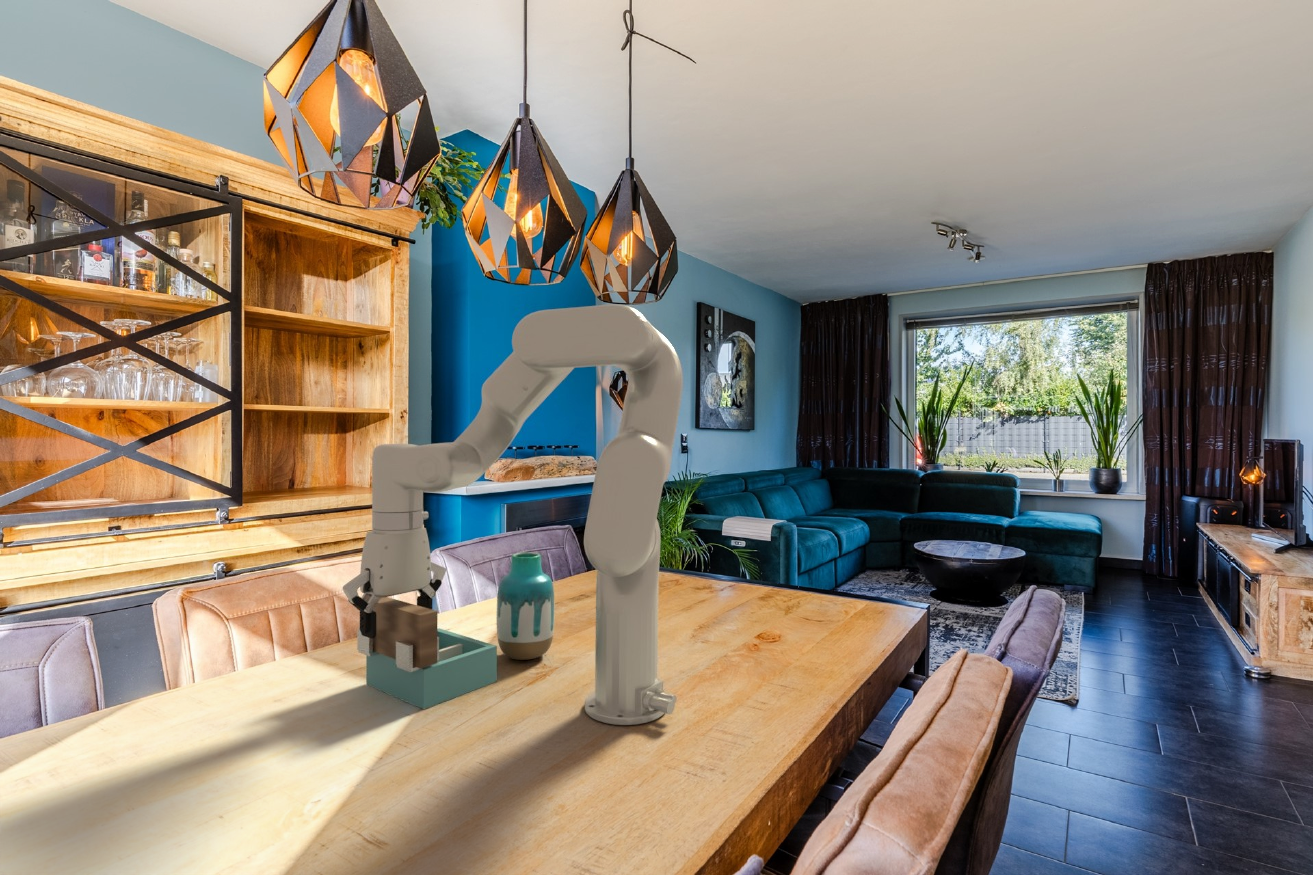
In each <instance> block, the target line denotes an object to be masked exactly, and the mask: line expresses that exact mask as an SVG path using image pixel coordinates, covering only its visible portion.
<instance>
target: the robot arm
mask: <svg viewBox="0 0 1313 875" xmlns="http://www.w3.org/2000/svg"><path fill="white" fill-rule="evenodd" d="M511 338H512V339H511V345H512V346H511V347H512V350H513V351H512V352H511V354H510V355H509V356H507V358H505V360H504V361H502V363H501V364H500V365H499V366H498V367H497V368H496V369H495V370H494V371H493V373H492V374H491V375H490V376H489V377H488V378H487V379H486V380H485V381H484V383H483V384H482V387H481V405H480V409H479V411H478V412H477V415H476V416H475V418H474V419H473V420H472V421H471V423H469V425H468V426H467V427H466V428H465V429H464V431H463V432H462V433H461V434H460V435H459V436H458V437H457V438H456V439H455V440H454V441H453V442H452V441H451V442H438V443H429V444H422V445H418V444H412V443H383V444H379V445H377V446H376V447H374V449H373V452H372V462H371V464H372V466H371V468H372V470H371V471H372V472H371V473H372V476H371V481H372V482H371V484H372V485H371V489H372V490H371V493H372V494H371V499H372V500H371V502H372V503H371V506H372V507H371V508H372V509H371V510H372V512H371V513H372V514H371V519H372V520H371V521H372V522H371V531H367V532H366V533H365V539H364V542H363V545H362V546H363V547H362V553H361V554H362V555H361V563H360V573H359V574H358V575H357V576H355V577H354V578H352V579H351V580H349V581H348V582H347V583H345V584H344V585H343V586H342V591H343V592H344V594H345V597H346V598H347V601H348V602H349V603H350V604H351V605H352V606H353V607H354V608H355V609H356V610H357V611H359V628H360V631H361V634H362V635H363V636H365V637H368V638H371V639H372V638H375V637H376V612H374V611H373V609H374V607H375V606H376V604H377V603H378V601H379V600H380V599H381V598H383V597H389V598H390V597H392V596H398V595H402V594H407V593H411V592H416V591H417V593H418V594H419V595H418V596H417V598H416V605H418V606H421V607H425V608H428V609H432V610H433V599H434V598H435V597H437V592H438V590H439V588H440V587H441V586H442V584H443V582H442V581H443V579H444V578H445V574H446V572H447V569H446V567H445V566H442V565H439V564H436V563H434V562H432V560H431V558H432V557H431V550H430V541H429V537H428V532H427V528H426V527H424V526H423V525H424V520H428V519H429V512H428V511H427V510H425V511H424V492H428V493H442V492H449V491H452V490H454V489H460V488H465V487H468V486H470V485H471V484H473V483H475V482H476V481H478V479H480V478H481V477H482V476H483V475H484V474H485V473H486V472H487V471H488V470H489V469H490V468H491V467H492V466H493V465H494V463H495V462H497V461H498V459H499V458H500V457H501V456H502V455H503V454H504V453H505V451H506V450H507V449H508V448H509V447H510V445H511V444H512V442H513V441H514V439H515V437H516V436H517V434H518V433H519V432H520V431H521V428H522V427H523V425H524V424H525V422H526V420H528V418H529V417H530V416H531V415H532V414H533V413H534V412H535V410H537V408H538V407H540V405H542V403H543V402H544V401H545V400H546V398H547V397H549V396H550V394H552V392H553V391H554V390H555V389H556V388H557V387H558V386H559V385H560V384H561V383H562V381H564V380H565V379H566V378H567V377H568V375H569V374H570V373H571V372H572V371H573V370H574V369H575V368H587V367H600V366H602V367H603V366H604V367H605V366H613V367H615V368H618V369H620V370H621V371H624V373H625V374H626V376H627V382H628V383H627V390H626V393H625V397H624V400H623V405H622V413H621V417H620V418H621V419H620V423H619V427H618V433H617V434H616V436H615V437H614V438H612V439H611V440H609V442H608V443H607V444H606V446H605V447H604V448H603V450H602V452H601V453H600V456H599V459H598V463H597V466H596V470H595V475H594V480H593V485H592V491H591V495H590V501H589V506H588V512H587V517H586V521H585V522H586V523H585V529H584V535H583V546H584V552H585V556H586V558H587V559H588V561H589V563H590V564H591V566H592V567H593V568H594V569H595V570H597V571H596V584H595V585H596V587H595V589H596V590H595V638H594V639H595V650H594V651H595V652H594V655H595V656H594V658H595V659H594V661H595V662H594V663H595V664H594V665H595V667H594V668H595V669H594V670H595V671H594V676H595V677H594V691H592V692H591V693H590V694H588V695H587V697H586V698H585V700H584V710H585V713H586V714H587V715H588V716H589V717H590V718H592V719H594V720H596V721H598V722H600V723H601V722H602V723H605V724H609V725H614V726H615V725H616V726H617V725H618V726H632V725H633V726H634V725H641V724H646V723H650V722H653V721H655V720H657V719H659V718H660V717H662V716H664V715H665V714H666V715H672V714H673V712H674V711H675V707H676V706H675V704H676V702H677V701H678V700H677V699H678V697H677V695H676V694H674V693H673V694H672V693H670V692H665V690H664V680H663V679H660V678H658V667H659V666H658V660H659V659H658V658H659V657H658V655H659V654H658V650H659V649H658V648H659V646H658V644H659V643H658V642H659V641H658V640H659V639H658V637H659V635H658V634H659V632H658V631H659V629H658V628H659V583H660V582H659V578H660V560H661V559H660V558H661V544H662V541H661V539H662V538H661V528H660V523H659V520H658V519H657V517H658V513H659V507H660V503H661V498H662V494H663V493H662V492H663V488H664V487H663V486H664V484H665V483H666V482H667V480H668V478H669V475H670V472H671V467H672V455H673V449H674V443H675V439H676V438H675V437H676V433H677V428H678V426H677V425H678V422H679V421H678V419H679V414H680V413H679V412H680V406H681V400H682V394H683V387H684V386H683V384H684V382H683V381H684V380H683V379H684V378H683V376H684V375H683V369H682V364H681V360H680V359H679V358H680V357H679V355H678V354H677V351H676V350H675V348H674V346H673V345H672V344H671V342H670V341H669V340H668V339H667V338H666V337H665V336H664V335H663V333H661V332H660V331H659V330H657V329H656V328H655V327H654V326H653V325H652V324H651V322H650V321H649V320H647V318H646V317H645V316H644V315H643V314H642V313H641V312H640V311H639V310H637V309H636V308H634V307H631V306H628V305H625V304H613V303H612V304H601V305H591V306H590V305H589V306H588V305H587V306H579V307H578V306H577V307H567V308H566V307H565V308H555V309H553V308H552V309H543V310H537V311H534V312H531V313H529V314H527V315H525V316H524V317H523V318H522V319H521V320H519V322H518V323H517V325H516V326H515V328H514V330H513V333H512V337H511ZM432 573H433V576H432ZM358 589H359V590H360V592H361V593H363V595H362V596H359V592H358Z"/></svg>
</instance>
